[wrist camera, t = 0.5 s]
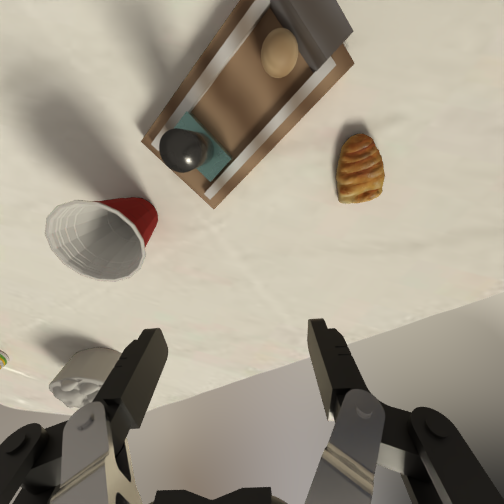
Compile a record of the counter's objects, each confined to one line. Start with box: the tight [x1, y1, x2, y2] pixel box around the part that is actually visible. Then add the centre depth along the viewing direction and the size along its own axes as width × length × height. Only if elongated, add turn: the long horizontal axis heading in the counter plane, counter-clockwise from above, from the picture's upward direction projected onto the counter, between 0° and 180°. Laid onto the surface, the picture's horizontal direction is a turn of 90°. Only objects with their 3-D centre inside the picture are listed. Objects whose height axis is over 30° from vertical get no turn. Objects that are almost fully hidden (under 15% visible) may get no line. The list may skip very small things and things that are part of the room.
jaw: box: [159, 111, 233, 182], centre depth 24 cm, size 4×7×11 cm, turn 44°
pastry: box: [336, 134, 385, 204], centre depth 31 cm, size 9×7×4 cm
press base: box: [141, 0, 354, 209], centre depth 26 cm, size 25×13×7 cm, turn 134°
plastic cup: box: [45, 197, 158, 282], centre depth 30 cm, size 11×11×12 cm
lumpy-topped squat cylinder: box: [49, 348, 122, 408], centre depth 49 cm, size 10×13×9 cm
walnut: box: [261, 28, 298, 78], centre depth 23 cm, size 4×4×4 cm
